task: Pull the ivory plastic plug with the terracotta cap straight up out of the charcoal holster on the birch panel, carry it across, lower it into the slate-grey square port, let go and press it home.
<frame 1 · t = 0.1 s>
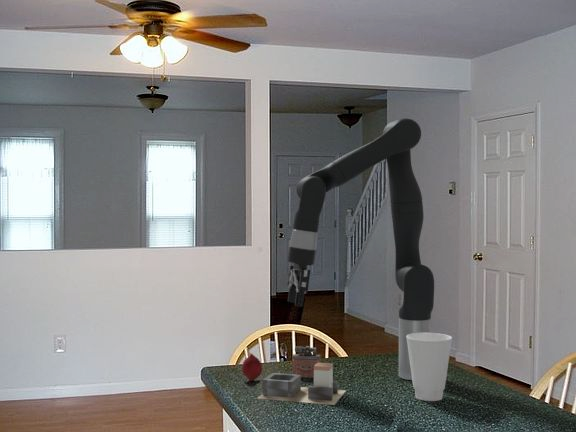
hand: (294, 304, 199), 22 cm above the table, tool pointing down, fingers open, 8 cm apart
onion: (251, 381, 202), on the table
cup: (428, 398, 185), on the table
lighter: (306, 382, 202), on the table
plug: (323, 395, 181), point 1 cm above the table, touching panel
panel: (302, 400, 182), on the table
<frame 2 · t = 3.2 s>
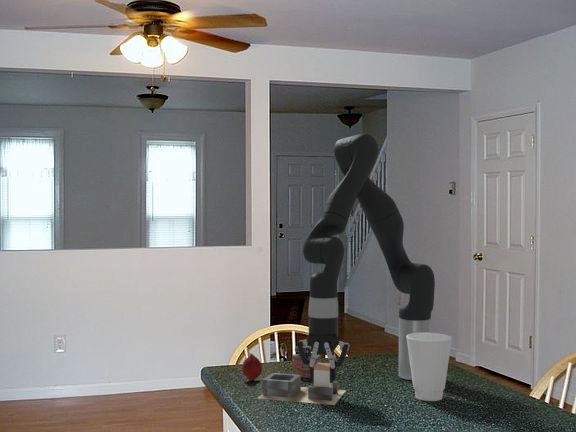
hand: (323, 381, 181), 5 cm above the table, tool pointing down, fingers closed on plug, 4 cm apart
plug: (323, 395, 181), point 2 cm above the table, touching gripper, panel
everything else where it was.
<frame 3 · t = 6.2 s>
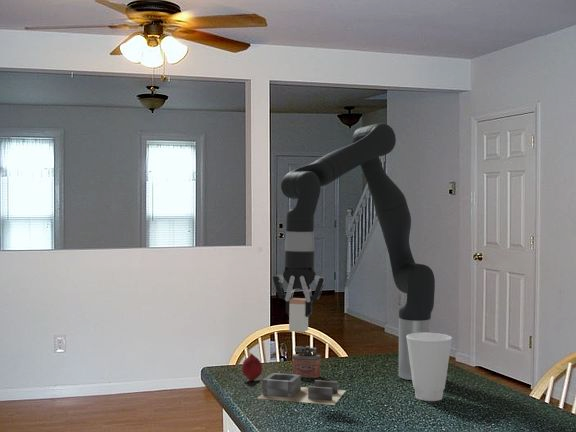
hand: (298, 315, 182), 22 cm above the table, tool pointing down, fingers closed on plug, 4 cm apart
plug: (298, 330, 182), point 18 cm above the table, touching gripper
everything else where it was.
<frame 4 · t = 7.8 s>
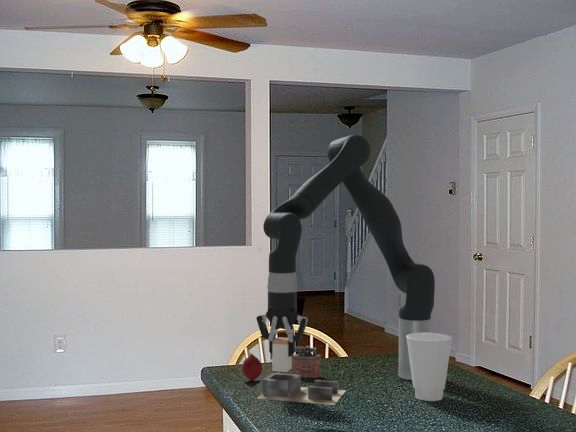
hand: (282, 355, 184), 11 cm above the table, tool pointing down, fingers closed on plug, 4 cm apart
plug: (282, 369, 184), point 7 cm above the table, touching gripper
everything else where it was.
when the fingers open (7 cm above the table, at t = 9.1 s): plug drops 2 cm, resting on panel.
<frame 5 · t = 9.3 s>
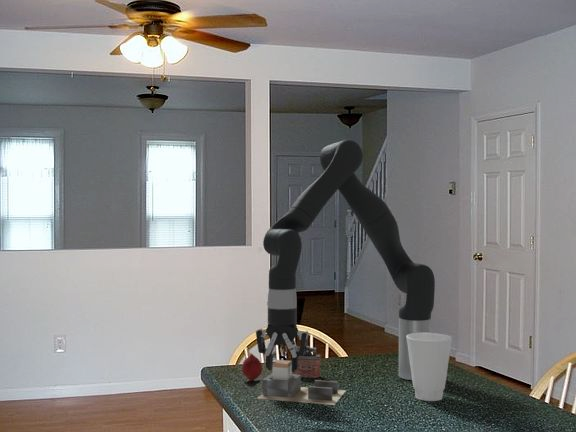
hand: (282, 370, 184), 7 cm above the table, tool pointing down, fingers open, 6 cm apart
plug: (282, 392, 184), point 1 cm above the table, touching panel
everything else where it was.
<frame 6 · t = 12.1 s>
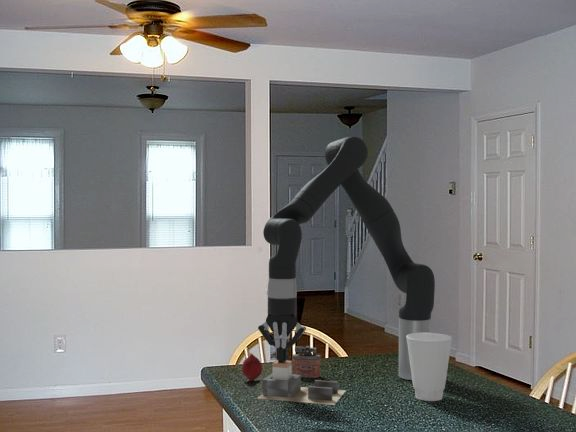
hand: (281, 361, 184), 10 cm above the table, tool pointing down, fingers closed
plug: (282, 392, 184), point 1 cm above the table, touching gripper, panel
everything else where it was.
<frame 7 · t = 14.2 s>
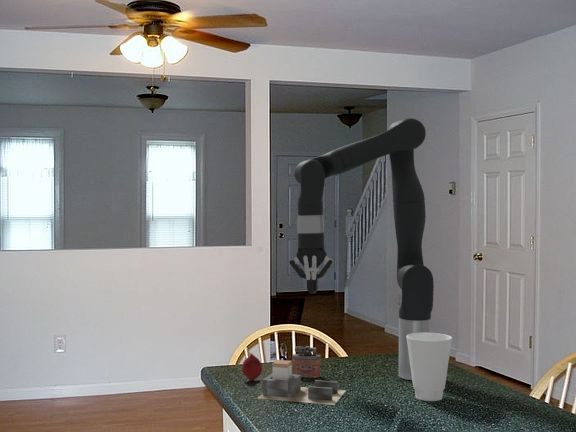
hand: (312, 292, 199), 26 cm above the table, tool pointing down, fingers closed
plug: (282, 392, 184), point 1 cm above the table, touching panel
everything else where it was.
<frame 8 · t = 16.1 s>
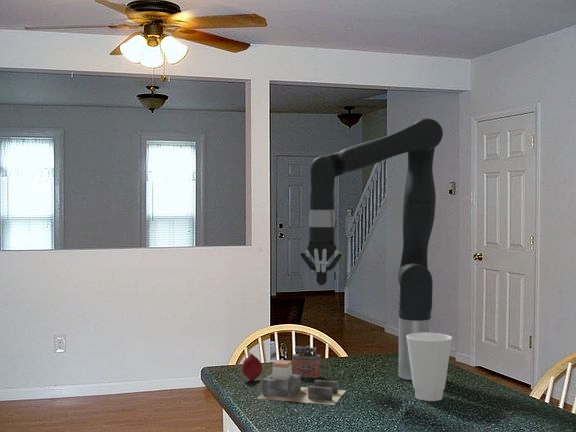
hand: (321, 284, 206), 27 cm above the table, tool pointing down, fingers closed
nothing on the table moved.
at the end: plug 0.0 cm from the target spot on the panel, point 1.5 cm above the panel's base; plug tilted 0°; the gripper is holding nothing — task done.
